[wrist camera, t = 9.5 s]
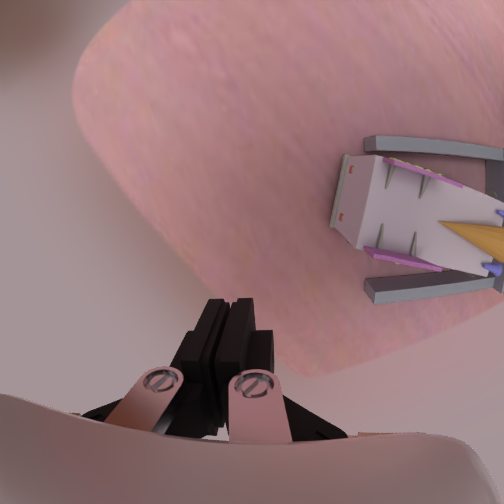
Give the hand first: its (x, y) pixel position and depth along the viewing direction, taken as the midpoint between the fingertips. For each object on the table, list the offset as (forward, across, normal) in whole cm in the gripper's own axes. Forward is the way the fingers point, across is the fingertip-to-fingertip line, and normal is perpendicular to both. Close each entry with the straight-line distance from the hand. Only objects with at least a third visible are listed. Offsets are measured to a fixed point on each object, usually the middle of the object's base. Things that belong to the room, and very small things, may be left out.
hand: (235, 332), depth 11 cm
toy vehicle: (+24, -17, -1) cm, 29 cm away
